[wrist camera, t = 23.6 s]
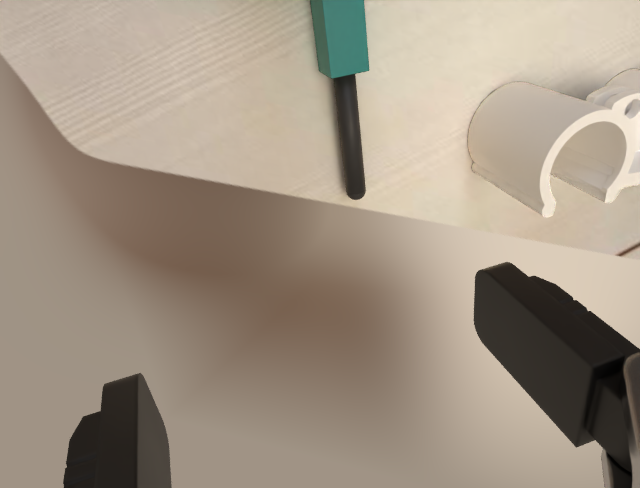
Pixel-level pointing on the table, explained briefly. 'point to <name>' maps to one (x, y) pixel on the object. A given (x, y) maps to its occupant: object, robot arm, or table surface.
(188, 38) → the table surface
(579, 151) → the white rounded piece
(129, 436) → the robot arm
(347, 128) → the teal block with handle
